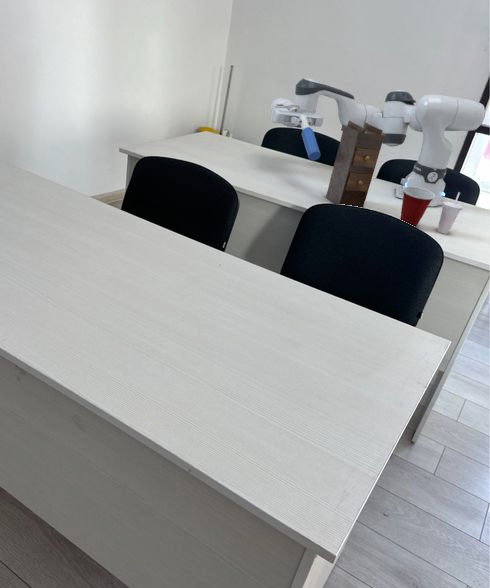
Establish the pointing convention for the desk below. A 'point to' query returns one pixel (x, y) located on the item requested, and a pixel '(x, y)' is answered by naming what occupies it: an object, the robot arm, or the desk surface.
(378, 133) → the bedside cabinet
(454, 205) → the smoothie
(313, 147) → the bottle
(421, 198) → the plastic cup
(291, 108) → the robot arm
